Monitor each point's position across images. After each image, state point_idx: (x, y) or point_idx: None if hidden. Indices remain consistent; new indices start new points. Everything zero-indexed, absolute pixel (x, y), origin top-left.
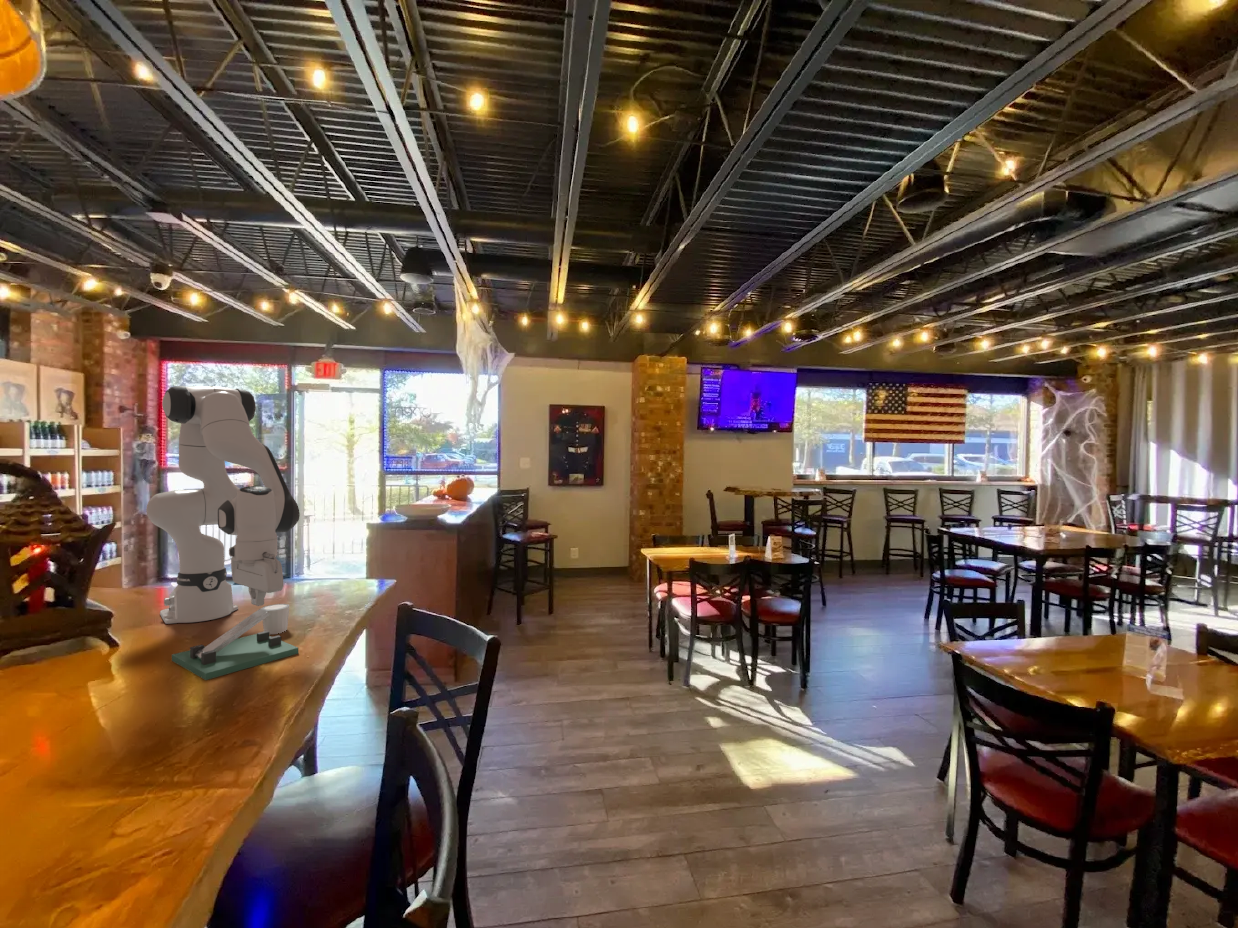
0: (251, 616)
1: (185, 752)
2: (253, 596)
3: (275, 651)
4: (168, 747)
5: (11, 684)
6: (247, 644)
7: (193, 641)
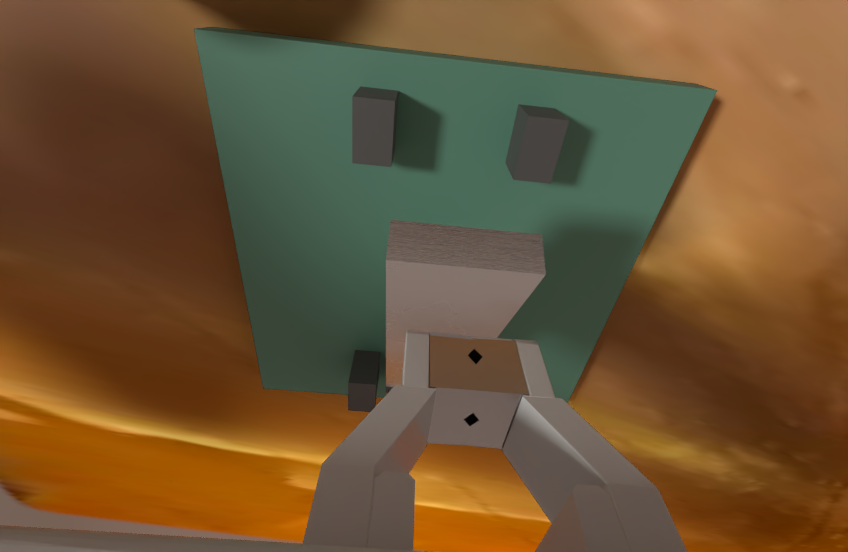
0: (418, 306)
1: (843, 515)
2: (419, 448)
3: (627, 195)
4: (793, 517)
5: (181, 528)
6: (382, 206)
7: (33, 248)
